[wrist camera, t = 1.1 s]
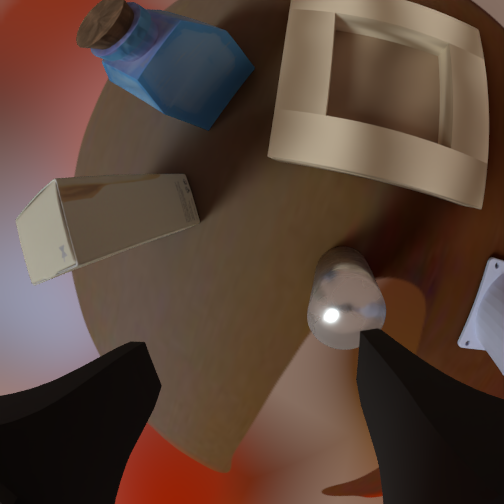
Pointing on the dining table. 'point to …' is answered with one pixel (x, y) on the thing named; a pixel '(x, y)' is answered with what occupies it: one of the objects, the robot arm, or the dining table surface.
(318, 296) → the metal pin
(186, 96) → the perfume bottle
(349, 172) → the socket block
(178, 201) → the skincare box
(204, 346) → the dining table surface
